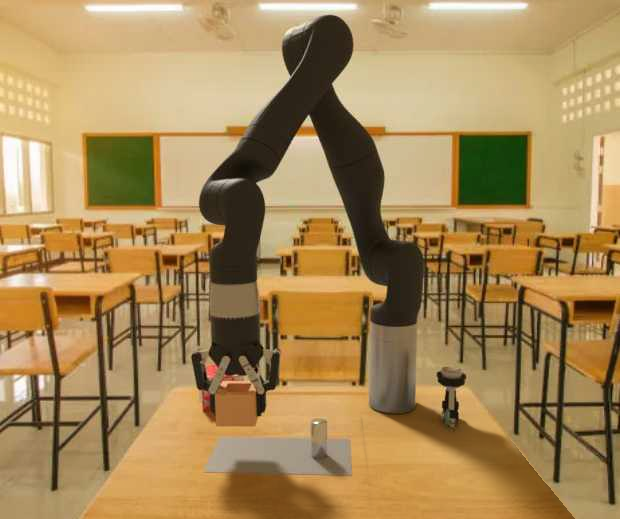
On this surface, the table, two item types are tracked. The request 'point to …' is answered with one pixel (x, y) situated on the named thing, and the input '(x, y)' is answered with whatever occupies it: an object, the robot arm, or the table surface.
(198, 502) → the table surface
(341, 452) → the base plate
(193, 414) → the table surface
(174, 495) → the table surface
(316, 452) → the steel post
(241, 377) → the red white patterned cube
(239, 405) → the collar
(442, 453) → the table surface
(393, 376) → the robot arm
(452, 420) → the push button
